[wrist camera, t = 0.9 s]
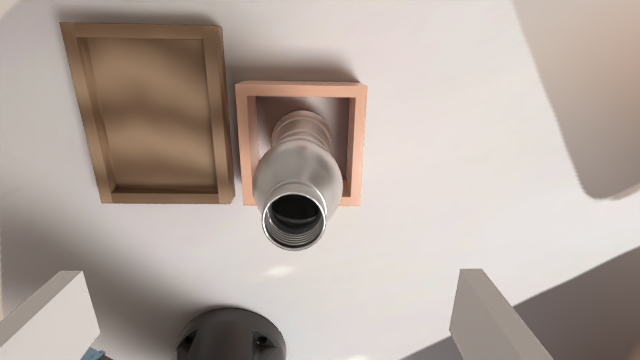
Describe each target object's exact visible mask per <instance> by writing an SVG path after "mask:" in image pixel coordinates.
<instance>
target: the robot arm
mask: <svg viewBox="0 0 640 360" xmlns="http://www.w3.org/2000/svg"><path fill="white" fill-rule="evenodd" d="M449 331H450V333H451V335H452V337H453V339H454V341H455V343H456V345H457V347H458V349H459V351H460V353H461V355H462V357H463V359H464V360H553V358H552V357H551V356H550V355H549V353H548V352H547V351H546V350H545V348H544V347H543V346H542V345H541V343H540V342H539V341H538V339H537V338H536V337H535V336H534V334H533V333H532V332H531V330H530V329H529V328H528V327H527V326H526V324H525V323H524V322H523V320H522V319H521V318H520V317H519V315H518V314H517V313H516V311H515V310H514V309H513V308H512V306H511V305H510V304H509V303H508V301H507V300H506V299H505V297H504V296H503V295H502V294H501V292H500V291H499V290H498V289H497V287H496V286H495V285H494V284H493V282H492V281H491V280H490V278H489V277H488V276H487V275H486V273H485V272H484V271H483V270H482V269H460V274H459V279H458V284H457V290H456V295H455V300H454V306H453V311H452V316H451V322H450V327H449ZM99 334H100V329H99V326H98V323H97V319H96V316H95V312H94V309H93V305H92V302H91V298H90V295H89V292H88V288H87V285H86V281H85V278H84V274H83V271H59V272H58V273H57V274H56V275H54V276H53V277H52V278H51V279H50V280H49V281H47V282H46V283H45V284H44V285H43V286H42V287H40V288H39V289H38V290H37V291H36V292H35V293H33V294H32V295H31V296H30V297H29V298H28V299H26V300H25V301H24V302H23V303H22V304H21V305H19V306H18V307H17V308H16V309H15V310H13V311H12V312H11V313H10V314H9V315H8V316H6V317H5V318H4V319H3V320H2V321H1V322H0V360H113V359H111V358H109V357H107V356H105V355H104V354H105V353H106V352H105V351H103V350H100V351H97V350H95V349H93V348H91V347H90V346H91V344H92V343H93V342H94V341H95V339H96V338H97V337H98V335H99ZM173 360H286V345H285V341H284V339H283V337H282V335H281V333H280V332H279V330H278V329H277V328H276V327H275V326H274V325H273V324H272V323H271V322H270V321H268V320H267V319H265V318H264V317H262V316H260V315H258V314H255V313H253V312H250V311H246V310H241V309H230V308H228V309H217V310H212V311H209V312H206V313H204V314H201V315H199V316H198V317H196V318H195V319H193V320H192V321H191V322H190V323H189V324H188V325H187V326H186V327H185V329H184V330H183V332H182V334H181V336H180V338H179V340H178V342H177V345H176V347H175V351H174V356H173Z"/></svg>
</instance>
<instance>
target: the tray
mask: <svg viewBox="0 0 640 360" xmlns="http://www.w3.org/2000/svg"><path fill="white" fill-rule="evenodd" d="M59 23H60V27H61V32H62V36H63V40H64V44H65V49H66V53H67V57H68V62H69V66H70V70H71V74H72V79H73V83H74V87H75V91H76V96H77V100H78V104H79V109H80V113H81V117H82V121H83V126H84V130H85V134H86V139H87V143H88V147H89V151H90V156H91V160H92V164H93V168H94V173H95V177H96V181H97V186H98V190H99V194H100V198H101V203H124V204H231V202H232V200H233V198H234V196H235V187H234V174H233V162H232V149H231V136H230V124H229V111H228V99H227V86H226V73H225V61H224V48H223V36H222V27H219V26H215V25H171V24H120V23H69V22H59Z"/></svg>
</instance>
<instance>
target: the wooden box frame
mask: <svg viewBox="0 0 640 360" xmlns="http://www.w3.org/2000/svg"><path fill="white" fill-rule="evenodd" d="M235 92H236V106H237V121H238V135H239V149H240V163H241V177H242V191H243V205H247V206H257V204H256V202H255V199H254V194H253V189H252V182H253V175H254V171H255V169H256V167H257V164H258V163H259V150H258V131H257V111H256V96H289V97H350V106H349V127H348V149H347V170H346V180H342V181H343V191H342V197H341V200H340V203H339V205H338V206H360V196H361V180H362V164H363V149H364V133H365V117H366V102H367V86H366V85H364V84H362V83H361V82H311V81H243V82H240V83H237V84H235Z"/></svg>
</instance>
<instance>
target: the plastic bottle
mask: <svg viewBox="0 0 640 360" xmlns="http://www.w3.org/2000/svg"><path fill="white" fill-rule="evenodd" d="M332 150H333V135H332V132H331V129H330V127H329V125H328V124H327V123H326V121H325V120H324V119H323V118H321V117H320V116H319V115H317V114H315V113H313V112H310V111H303V110H301V111H294V112H291V113H289V114H287V115H285V116H284V117H283V118H281V119H280V120H279V122H278V123H277V124H276V126H275V128H274V130H273V133H272V137H271V149H270V150H268V151H267V152H266V153H265V155H264V156H263V157H262V159H261V160H260V161H259V163H258V164H257V167H256V169H255V171H254V175H253V182H252V189H253V194H254V199H255V202H256V204H257V207H258V209H259V211H260V212H261V214H262V227H263V230H264V233H265V235H266V236H267V238H268V239H269V240H270V241H271V242H272V243H273V244H275V245H276V246H277V247H280V248H282V249H285V250H289V251H299V250H304V249H307V248H309V247H311V246H313V245H314V244H315V243H317V241H318V240H319V239H320V238H321V236H322V235H323V233H324V230H325V227H326V222H327V221H328V220H329V219H330V217H331V216H332V215H333V214H334V212H335V210H336V208H337V207H338V205H339V203H340V200H341V197H342V191H343V181H342V176H341V172H340V169H339V167H338V165H337V163H336V161H335V159H334V158H333V157H332V155H331V154H332Z"/></svg>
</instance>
